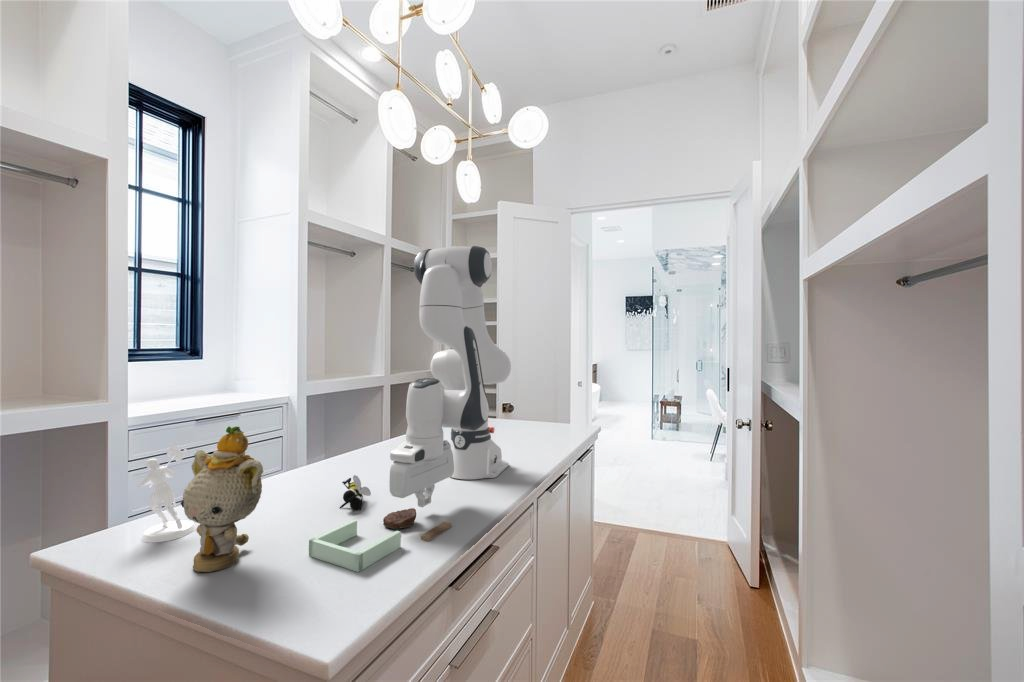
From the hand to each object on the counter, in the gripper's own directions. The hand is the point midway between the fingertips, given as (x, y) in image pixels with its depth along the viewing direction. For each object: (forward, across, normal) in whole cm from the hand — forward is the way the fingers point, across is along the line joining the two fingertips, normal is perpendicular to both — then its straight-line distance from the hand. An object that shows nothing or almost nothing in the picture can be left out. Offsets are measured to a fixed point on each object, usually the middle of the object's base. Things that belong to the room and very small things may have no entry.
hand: (424, 504), depth 104 cm
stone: (+3, +8, -1) cm, 8 cm away
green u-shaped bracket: (+2, +21, 0) cm, 21 cm away
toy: (+3, +2, -20) cm, 20 cm away
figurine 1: (+2, +33, -42) cm, 54 cm away
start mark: (+2, +7, +9) cm, 12 cm away
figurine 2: (+2, +36, -18) cm, 40 cm away
